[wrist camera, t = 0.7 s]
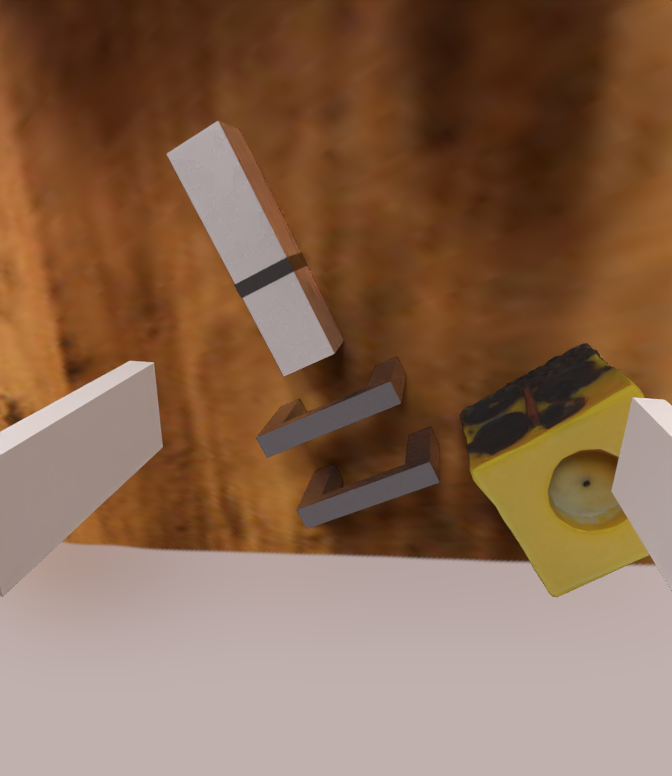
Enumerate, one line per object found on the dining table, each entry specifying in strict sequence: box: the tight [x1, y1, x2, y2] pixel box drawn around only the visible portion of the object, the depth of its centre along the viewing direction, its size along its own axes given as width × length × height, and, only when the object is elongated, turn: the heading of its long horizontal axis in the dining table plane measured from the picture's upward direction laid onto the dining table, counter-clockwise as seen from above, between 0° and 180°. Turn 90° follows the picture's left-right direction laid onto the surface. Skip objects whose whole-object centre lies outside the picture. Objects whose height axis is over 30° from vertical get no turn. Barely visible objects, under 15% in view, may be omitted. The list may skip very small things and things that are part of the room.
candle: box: [460, 343, 650, 597], centre depth 34 cm, size 10×10×10 cm
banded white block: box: [167, 121, 344, 376], centre depth 36 cm, size 16×4×4 cm, turn 27°
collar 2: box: [297, 427, 440, 529], centre depth 39 cm, size 2×10×6 cm, turn 117°
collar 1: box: [256, 357, 406, 458], centre depth 38 cm, size 2×10×6 cm, turn 117°
